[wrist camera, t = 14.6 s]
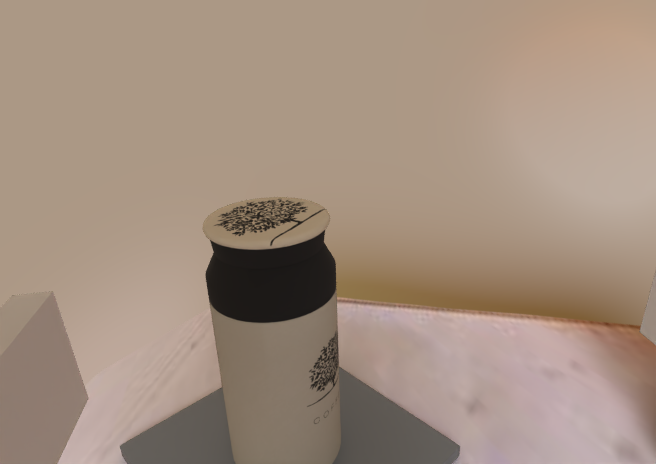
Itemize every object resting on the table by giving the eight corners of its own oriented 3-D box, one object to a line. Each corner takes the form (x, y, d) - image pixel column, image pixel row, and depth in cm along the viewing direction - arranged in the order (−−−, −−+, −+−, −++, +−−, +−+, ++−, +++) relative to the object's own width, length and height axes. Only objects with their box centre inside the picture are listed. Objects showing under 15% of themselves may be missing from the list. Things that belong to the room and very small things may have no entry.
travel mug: (210, 451, 34) (169, 222, 27) (285, 390, 40) (268, 188, 33) (289, 514, 30) (264, 257, 23) (362, 435, 35) (360, 209, 28)
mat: (301, 350, 47) (301, 339, 47) (458, 455, 35) (460, 443, 34) (122, 455, 36) (118, 442, 35) (260, 665, 24) (258, 650, 23)
